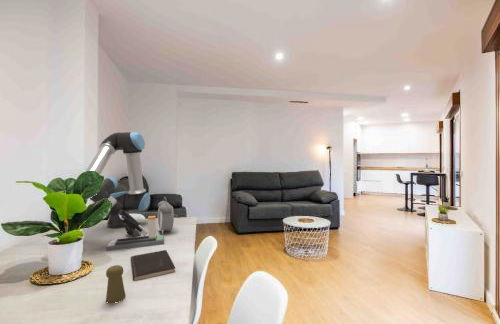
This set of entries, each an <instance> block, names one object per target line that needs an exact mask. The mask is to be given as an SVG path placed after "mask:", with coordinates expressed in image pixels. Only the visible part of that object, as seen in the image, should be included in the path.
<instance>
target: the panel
mask: <svg viewBox="0 0 500 324" xmlns="http://www.w3.org/2000/svg"><path fill="white" fill-rule="evenodd" d="M156 245H157V246H159V245H165V235H164V234H161V235H156V238H152V239H149V235H146V236H145V237H144V236H143V235H142V236H141V235H140V236H136V237H133V236H131V237H126V238H125V237H124V238H117V239H116V240H110V241H109V242H108V243H107V245H106V247H105V251H106V252H109V251H116V250H126V249H134V248H135V249H136V248H143V247H150V246H151V247H153V246H156Z"/></svg>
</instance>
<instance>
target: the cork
mask: <svg viewBox="0 0 500 324" xmlns="http://www.w3.org/2000/svg"><path fill="white" fill-rule="evenodd" d="M123 274H124V267H123V266H122V265H119V264H118V265H117V264H116V265H112V266H109V267H108V268H107V269H106V272H105V276H106V278H107V287H106V296H105V303H106V302H108V303H115V302H118V303H120V302H119V301H121V300H122V301H124V300H125V299H126V291H125V286H124V285H125V284H124V279H123ZM123 299H124V300H123ZM122 301H121V302H122ZM108 303H107V304H108ZM115 304H116V303H115Z"/></svg>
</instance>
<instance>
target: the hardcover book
mask: <svg viewBox="0 0 500 324" xmlns="http://www.w3.org/2000/svg"><path fill="white" fill-rule="evenodd" d="M170 256H171V255H169V253H168V251H167V250H166V249H164V250H158V251H152V252H147V253H143V254H137V255H131V257H130V264H131V272H132V279H133V282H134V281H139V280H143V279H148V278H152V277H157V276H161V275H166V274H171V273H175V270H176V265H174V263H173V260H172V259H171V257H170Z"/></svg>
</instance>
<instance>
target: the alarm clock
mask: <svg viewBox="0 0 500 324" xmlns="http://www.w3.org/2000/svg"><path fill="white" fill-rule="evenodd" d="M157 208H158V210H157V229H158V231H159V232H160V231H161V235H164V232H165V231H169V232H170V231H172V230H173V227H174V222H175V221H174V216H175V215H174V214H175V213H174V211H175V210H174V207H173V205H171V204H170V203H169V202H168V201H167V198H166V197H165V196H163V199H162V201H159V202H158V204H157Z"/></svg>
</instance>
